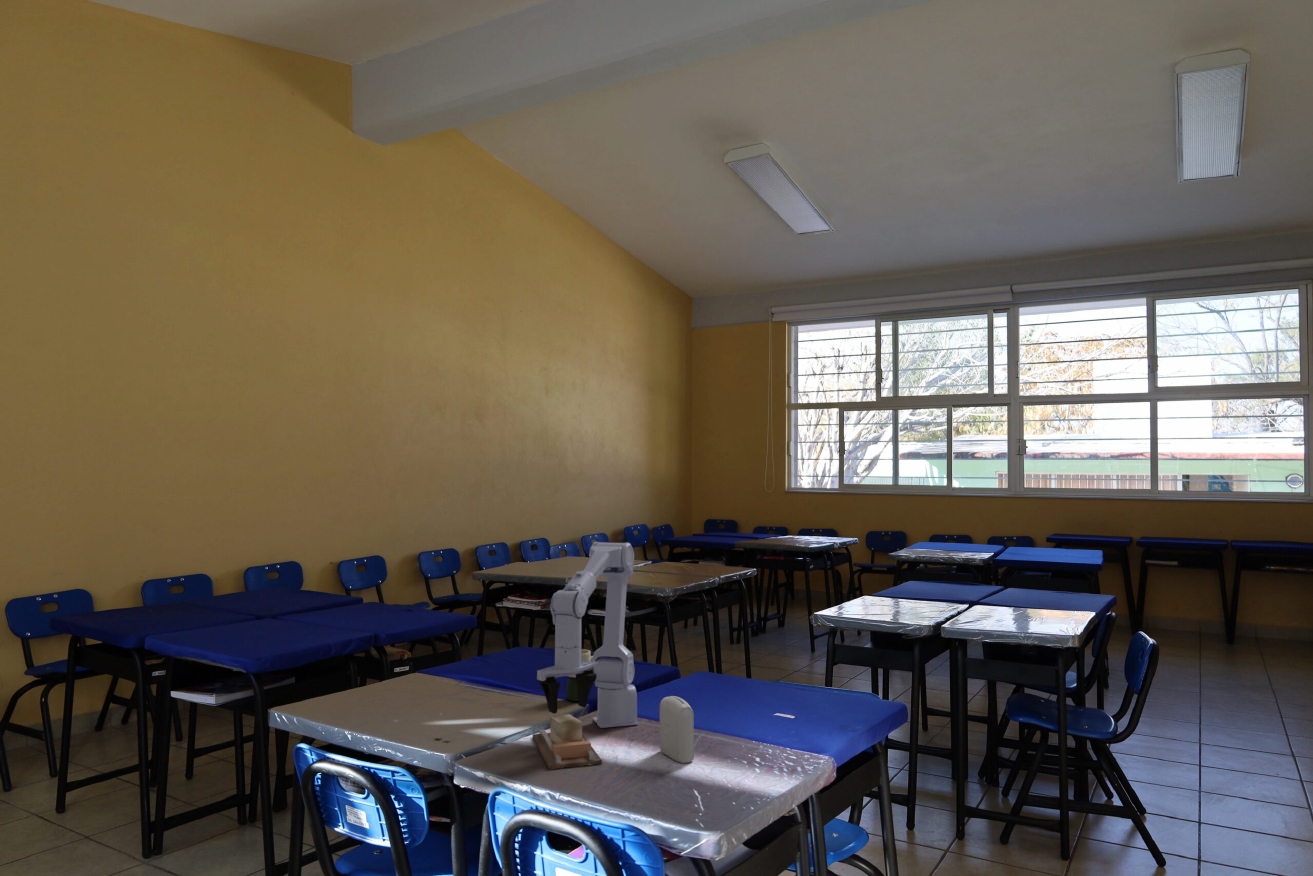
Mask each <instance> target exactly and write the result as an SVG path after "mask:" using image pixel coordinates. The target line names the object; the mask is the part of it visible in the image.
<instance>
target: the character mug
mask: <svg viewBox="0 0 1313 876" xmlns="http://www.w3.org/2000/svg"><path fill="white" fill-rule="evenodd" d="M591 653H592V652H591V650H589V649H583V648H581V662H590V661H592V660H593V655H591ZM567 677H569V678H568V680H567V684H566V685H567V686H566V693H565V698H566V699H568V700H570V701H575V702H578V686H577V680H576V675H575V674H574V675H568V676H567ZM589 698H590V696H589V697H588V699H589Z"/></svg>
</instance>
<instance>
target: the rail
mask: <svg viewBox="0 0 1313 876" xmlns="http://www.w3.org/2000/svg"><path fill="white" fill-rule="evenodd" d="M538 729H539V733H538V734H539V735H540V736H541V738H542V740H543V742H544V743H545V745H546V747H547V749H548V750H549V752H550V754H551V756H552V752H553V751H552V744H553V743H552V742H551V740H550V738H549V737H548V735H547V733H548V732H547V731H546V730H545V728H538ZM582 741H584V739H583V738H582ZM553 756H554V761H555V763H556V764H561V757H560V755H559V753H554V755H553ZM586 756H587V758H588V759H589V760H594V753H593V752H592V750H586Z"/></svg>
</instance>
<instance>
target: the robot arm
mask: <svg viewBox="0 0 1313 876" xmlns="http://www.w3.org/2000/svg"><path fill="white" fill-rule="evenodd" d="M634 564H635V552H634V548H633V546H632V544H631V543H630V542H599V541H595V542H593V543H592V544H591V546H590V548H589V559H588V561H587V563H586V565H585V566H584V568H583V570H577V571H576V572H575V574H574V575H573V576H572V577H571V578H570V579H569V581H568V582H567V584H566V585H565V587H564V588H563V589H559V590H557V591H556V592H554V593H553V595H552V597H551V600H550V604H549V609H550V613H551V616H552V625H554V626H555V628H554V629H555V630H554V631H555V632H554V665H553V666H550V667H549V666H548V667H546V668H541V669H538V670H536V672H537V673H536V680H537V681H538V683H539V685H540V688H541V689H542V691H543V694H544V696H545V699H546V703H547V707H548V712H549V713H551V714H557V713H558V697H559V691H560V687H561V682H559V681H557V679H556V678H562V677H569V676H568V675H574V674H575V675H576V680H577V686H578V701H577V704H578V706H579V707H582V708H586V707H587V705H588V699H589V698H590V693H591V690H592V687H593V686H595V687H597V716H594V717H592V721H594V722H595V723H597V726H598V727H599V728H601V729H604V728H606V729H607V728H615V727H617V728H618V727H626V726H638V724H639V723H638V694H637V689H636V687H635V685H634V684H632V682H633V681H634V677H635V664H634V654H633V653H632V651H631V650H629V648H627V647H626V646H625V645H624V639H625V638H624V637H625V636H624V633H625V621H626V620H625V618H626V606H627V605H626V603H627V591H628V590H627V589H628V588H627V586H628V578H630V577H632V576H633V573H634V567H635V565H634ZM600 575H601V576H604V577H605V579H606V581H607V583H606V585H607V586H606V596H605V597H606V599H605V614H604V615H605V616H604V625H603V626H604V628H603V642H602V646H600V647H599V648H597V649H596V650H595V651H594V652H593V655H592V656H593V660H591V661H590V662H581V649H582V618H583V616H585V613H586V611H587V606H588V604H589V598H590V597H591V595H592V594H593V592H594V591H595V589H596V588H597V579H598V578H599V577H600ZM608 657H609V658H608ZM611 657H612V658H611ZM588 697H589V698H588Z"/></svg>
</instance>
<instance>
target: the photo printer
mask: <svg viewBox="0 0 1313 876" xmlns="http://www.w3.org/2000/svg"><path fill="white" fill-rule="evenodd" d="M694 718H695V716H694V710H693V709H692V707H691V706H690V704H689V703H688V702H687V701H686V700H684V699H683V698H682V697H679V696H675V695H670V696H666V697H663V698H662V699H661V701H660V703H659V749H660V751H661V752H662V753H663V754H665V755H666V756H668V757H669V758H670V759H672V760H674V761H676V762H678V763H681V764H687V763H691V762H693V760H695V759H694V758H695V737H694V735H695V727H694V726H695V725H694V724H695V723H694V720H695V719H694Z"/></svg>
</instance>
